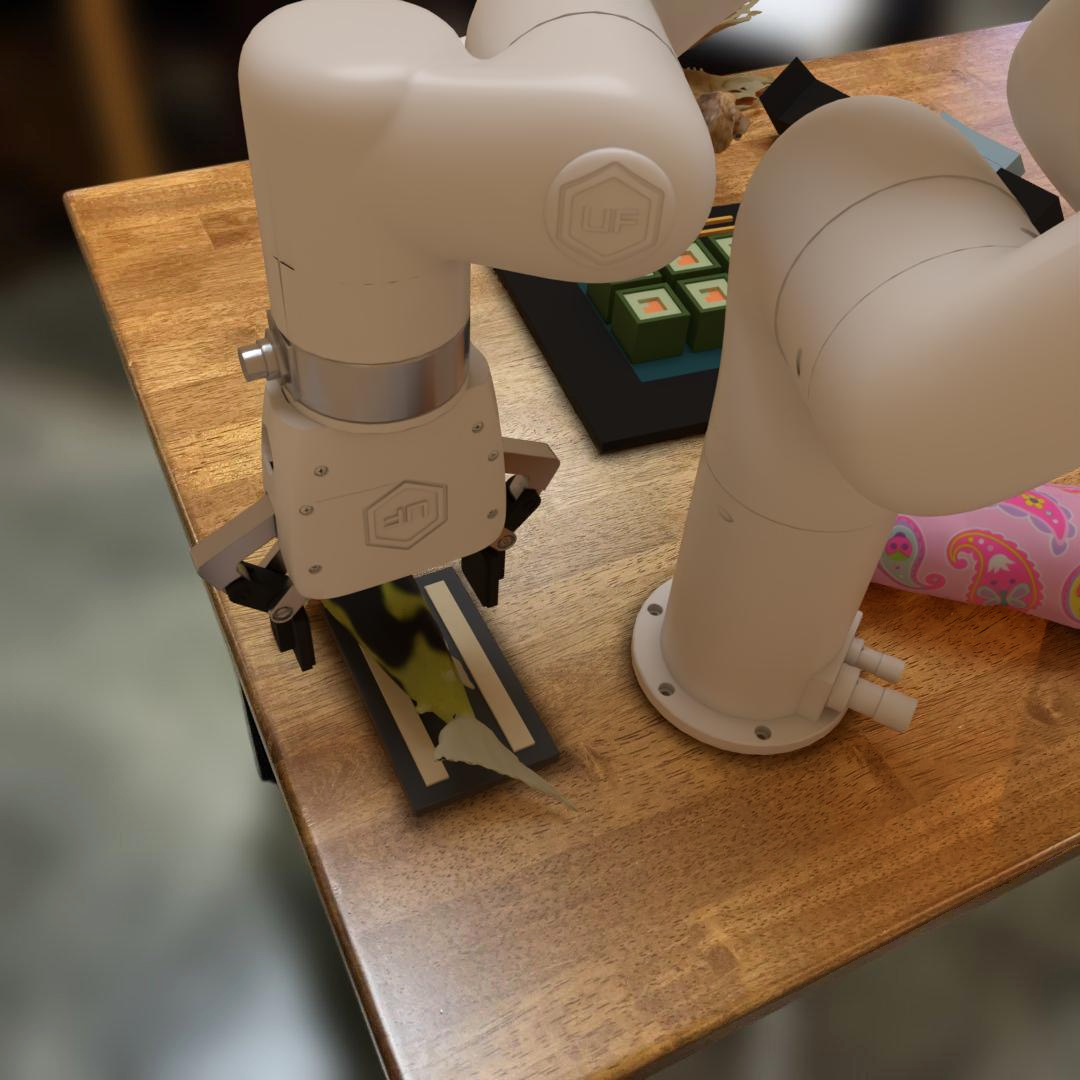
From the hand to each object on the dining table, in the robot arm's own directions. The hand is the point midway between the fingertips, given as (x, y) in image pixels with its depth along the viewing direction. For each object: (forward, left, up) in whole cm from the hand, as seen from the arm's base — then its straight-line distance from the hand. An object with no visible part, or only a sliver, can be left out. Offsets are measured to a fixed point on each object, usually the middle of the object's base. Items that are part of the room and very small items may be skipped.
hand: (392, 617), depth 56 cm
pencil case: (-25, -20, -5) cm, 33 cm away
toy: (+3, -72, -3) cm, 72 cm away
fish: (+2, +3, +3) cm, 4 cm away
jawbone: (+15, -72, -2) cm, 74 cm away
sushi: (-1, -40, -6) cm, 40 cm away
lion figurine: (+9, -61, -6) cm, 62 cm away
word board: (-2, -1, -6) cm, 6 cm away
